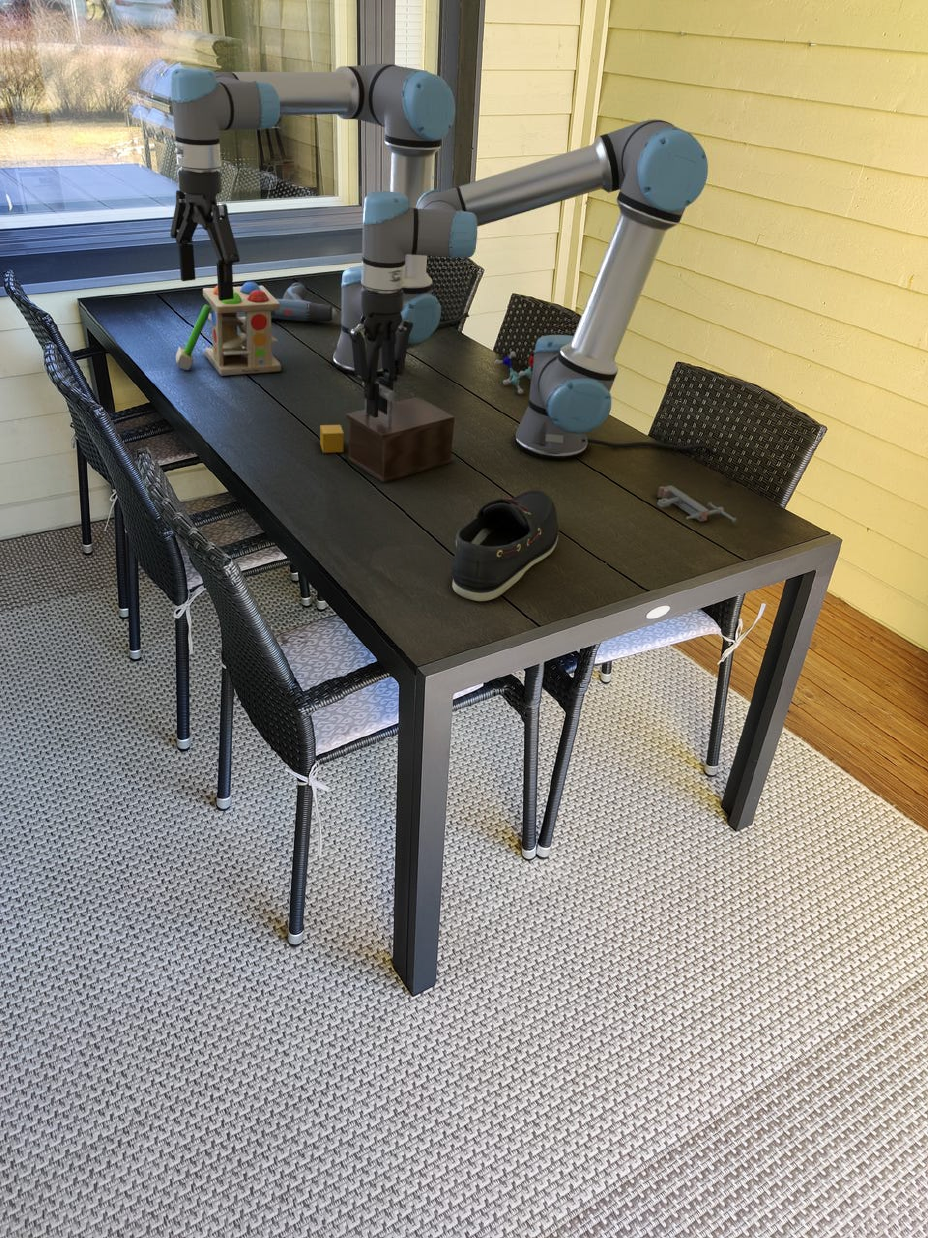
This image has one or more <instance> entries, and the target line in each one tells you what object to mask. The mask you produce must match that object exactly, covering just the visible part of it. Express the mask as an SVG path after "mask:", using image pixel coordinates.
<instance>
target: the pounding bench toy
mask: <svg viewBox="0 0 928 1238" xmlns="http://www.w3.org/2000/svg"><path fill="white" fill-rule="evenodd" d="M202 296H203V298H204V299H205V300H206V301H207V302H208V304H209V305H208V304H204V305H203V307H202V309H201V312H200V313H199V316H198V318H197V320H196V322H195V324H194V327H193V329H192V331H191V332H190V333H191V334H190V336H189V338H188V340H187V343H186V344H185V347H184V348H182V347H180V346H179V347H178V349H177V351H176V354H175V357H174V358H175V362H176V365H177V366H178V368H179V369H182V370H185V371H189V370H190V369H191V367H192V365H193V363H194V356H193V351H194V348H195V347H196V345H197V342H198V340H199V337H200V336H201V333H202V332H203V329H204V326H205V325H206V322H207V320H209V321H210V322H211V336H212V337H211V338H212V339H211V340H212V348H205V349H204V352H205V353H204V355H205V357H206V359H208V361H209V363H210V364H211V365H212V366H213V367H214V369H215V370H216V371H217V372H218V374H219V375H220V376H222V377H223V376H234V375H235V376H236V375H246V374H247V375H250V374H262V373H275V372H281V370H282V364H281V363H280V362H279V360H278V359H277V358H276V357H275V356H274V355H273V348H272V347H273V345H272V344H276V343H278V342H279V341H278V339H277V338H276V337H275V336H274V334H272V318H271V310H280V303H279V302H278V301H277V300H276V299H277V298H276V297H274V296H273V295H272V294H271V293H270V292H269V290H268V289H267V288H266V287H264V285H259V284H257V283H256V282H255V281H247V282H245V283H244V284H243V285H242V286H233V298H234V299H228V300H222V301H220V300H219V297H218V284H217V285H216V286H215V287H204V288H203V289H202ZM238 313H244V314H245V315H244V316H238ZM238 329H239V331H240V333H239V334H238Z"/></svg>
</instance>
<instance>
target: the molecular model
mask: <svg viewBox="0 0 928 1238" xmlns="http://www.w3.org/2000/svg"><path fill="white" fill-rule="evenodd" d="M516 355H517V354H516V352H515V351H511V352H510V354H509V356H508V357H504V359H503V360H500V359H496V360H494V363H495V365H497V366H499V365H500V364H504V365H506V366H507V367H508V369H509V371H510V373H509V377H508V379H504V380H502V385H504V386H509V385H510V384H512V385H513V386H516V388H517V394H518V395H523V394H524V389H522V388H521V386H520V379H521V378H522V377H525V378H528V379H529V381H530V382H531V378H532V370H531V369H532V367H533V362H534V356H531V357H529V358H528V362H529V364H528V367H527V369H525V370H520V372H517V371H516V370H514V369H513V367H512V365H511V362H512V361H511V359H512V358H514V357H515V356H516Z"/></svg>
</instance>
